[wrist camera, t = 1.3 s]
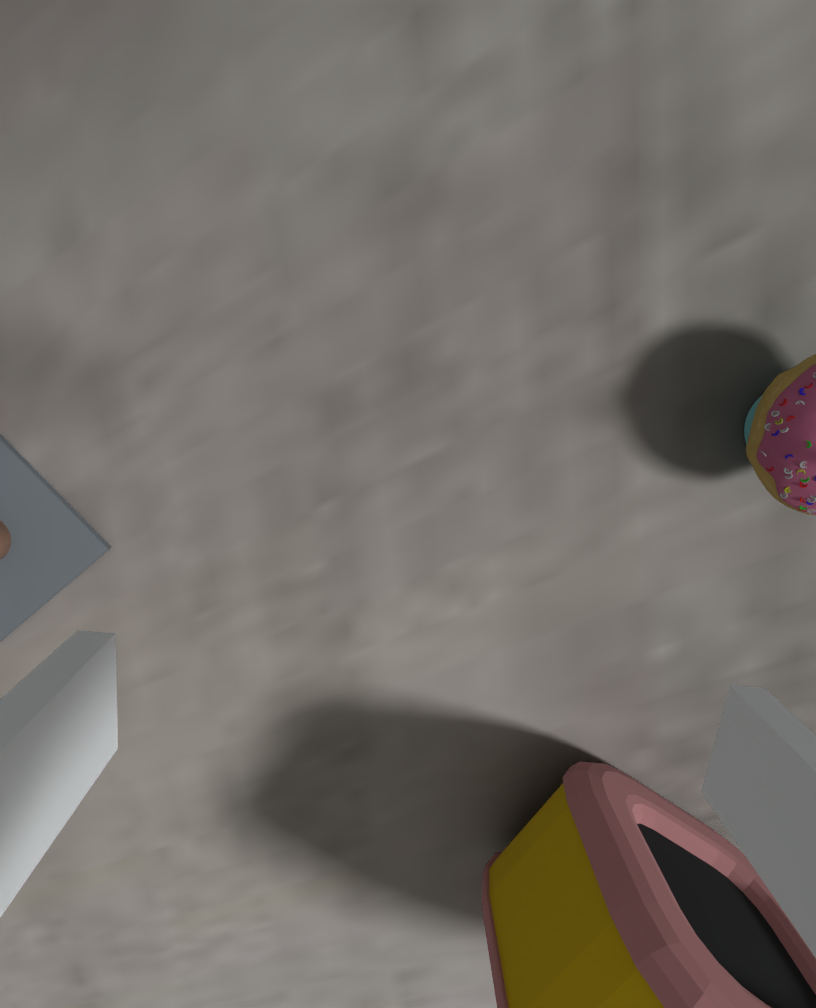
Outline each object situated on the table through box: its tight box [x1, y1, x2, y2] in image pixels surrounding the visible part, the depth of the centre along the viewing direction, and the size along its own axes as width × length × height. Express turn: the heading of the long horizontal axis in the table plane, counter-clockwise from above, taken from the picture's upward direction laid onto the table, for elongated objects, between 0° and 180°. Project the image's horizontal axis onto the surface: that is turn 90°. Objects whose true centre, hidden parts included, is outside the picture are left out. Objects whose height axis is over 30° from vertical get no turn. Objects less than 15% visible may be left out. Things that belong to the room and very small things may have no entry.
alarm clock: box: [482, 762, 816, 1008], centre depth 32 cm, size 18×11×19 cm, turn 55°
